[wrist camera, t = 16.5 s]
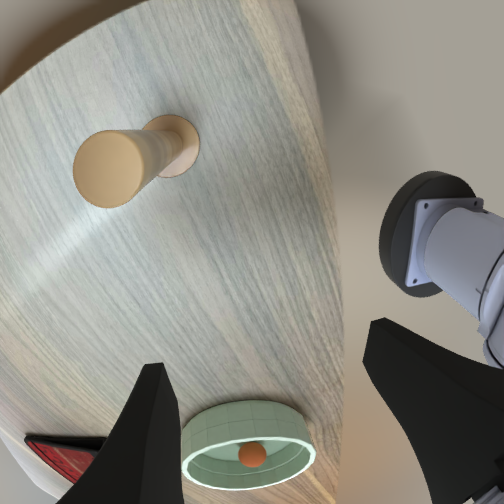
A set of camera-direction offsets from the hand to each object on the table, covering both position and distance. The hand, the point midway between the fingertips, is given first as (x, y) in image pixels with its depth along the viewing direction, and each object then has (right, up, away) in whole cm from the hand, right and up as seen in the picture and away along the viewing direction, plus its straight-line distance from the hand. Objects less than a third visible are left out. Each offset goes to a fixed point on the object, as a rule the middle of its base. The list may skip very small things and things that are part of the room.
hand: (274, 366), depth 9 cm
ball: (-1, -18, +16) cm, 24 cm away
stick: (-5, +10, +6) cm, 13 cm away
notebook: (-23, -28, +20) cm, 41 cm away
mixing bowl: (-2, -16, +18) cm, 24 cm away
